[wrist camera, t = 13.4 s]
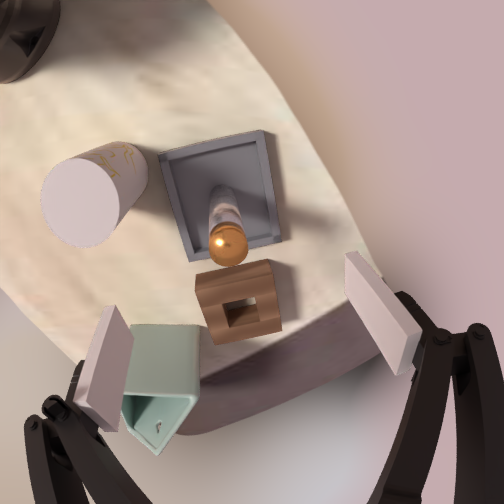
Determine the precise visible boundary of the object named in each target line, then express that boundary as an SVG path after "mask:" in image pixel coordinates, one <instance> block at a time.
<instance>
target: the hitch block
mask: <svg viewBox="0 0 504 504" xmlns="http://www.w3.org/2000/svg"><path fill="white" fill-rule="evenodd" d="M195 293H196V296H197V299H198V301H199V304H200V307H201V310H202V313H203V315H204V318H205V321H206V323H207V326H208V329H209V331H210V334H211V336H212V339H213V342H214V344H215V345H219V344H224V343H229V342H234V341H239V340H244V339H249V338H253V337H258V336H263V335H267V334H271V333H276V332H280V331H282V325H281V319H280V313H279V307H278V301H277V295H276V289H275V283H274V277H273V273H272V270H271V267H270V264H269V262H268V259H264V260H259V261H255V262H250V263H246V264H241V265H237V266H232V267H228V268H223V269H219V270H214V271H210V272H205V273H201V274H196V281H195ZM251 297H255V300H256V304H254V305H250V306H245V307H241V308H236V309H231V310H227V307H226V304H225V303H228V302H233V301H237V300H242V299H247V298H251Z"/></svg>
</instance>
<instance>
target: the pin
mask: <svg viewBox="0 0 504 504" xmlns="http://www.w3.org/2000/svg"><path fill="white" fill-rule="evenodd" d="M209 254H210V256H211V258H212V260H213V261H214V262H216V263H217V264H219V265H221V266H226V267H231V266H235V265H238V264H239V263H241V262H242V261H243V260H244V259H245V258H246V256H247V254H248V243H247V239H246V235H245V232H244V228H243V224H242V220H241V216H240V212H239V209H238V205H237V201H236V197H235V193H234V191H233V189H232V188H231V187H229V186H227V185H218V186H216V187H215V188H213V190H212V191H211V193H210V210H209Z"/></svg>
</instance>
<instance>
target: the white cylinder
mask: <svg viewBox="0 0 504 504" xmlns="http://www.w3.org/2000/svg"><path fill="white" fill-rule="evenodd" d="M148 174H149V173H148V165H147V162H146V160H145V158H144V156H143V154H142V153H141V152H140V151H139V150H138V149H137V148H136V147H134V146H133V145H131V144H129V143H125V142H111V143H108V144H105V145H103V146H100V147H97V148H95V149H92V150H89V151H87V152H84V153H82V154H79V155H77V156H74V157H72V158H69V159H67V160H65V161H63V162H61V163H59V164H57V165H56V166H55V167H54V168H53V169H52V170H51V171H50V172H49V173H48V175H47V177H46V178H45V180H44V183H43V186H42V190H41V209H42V213H43V216H44V219H45V221H46V223H47V225H48V227H49V228H50V230H51V231H52V232H53V233H54V234H55V235H56V236H57V237H58V238H59V239H60V240H61V241H63V242H65V243H66V244H68V245H71V246H74V247H78V248H89V247H94V246H97V245H99V244H101V243H102V242H104V241H105V240H106V239H107V238H108V237H109V236H110V235H111V234H112V232H113V231H114V230H115V228H116V227H117V225H118V224H119V223H120V221H121V220H122V219H123V217H124V216H125V215H126V213H127V212H128V211H129V210H130V208H131V207H132V206H133V204H134V203H135V202H136V201H137V199H138V198H139V197H140V196H141V194H142V193H143V191H144V190H145V188H146V185H147V182H148Z"/></svg>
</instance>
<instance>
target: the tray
mask: <svg viewBox="0 0 504 504" xmlns="http://www.w3.org/2000/svg"><path fill="white" fill-rule="evenodd" d="M158 158H159V162H160V166H161V170H162V173H163V177H164V181H165V184H166V188H167V191H168V195H169V198H170V202H171V205H172V209H173V212H174V216H175V219H176V222H177V226H178V229H179V232H180V235H181V239H182V242H183V245H184V248H185V251H186V254H187V258H188V261H189V262H193V261H197V260H202V259H206V258H211V256H210V254H209V210H210V193H211V191H212V190H213V188H215V187H216V186H218V185H227V186H229V187H231V188H232V189H233V191H234V193H235V197H236V201H237V205H238V209H239V212H240V216H241V220H242V224H243V228H244V232H245V235H246V239H247V243H248V249H251V248H256V247H260V246H265V245H269V244H274V243H278V242H282V241H281V234H280V227H279V221H278V214H277V208H276V202H275V196H274V190H273V183H272V177H271V172H270V166H269V160H268V154H267V148H266V143H265V137H264V132H263V130H256V131H251V132H245V133H240V134H235V135H230V136H225V137H221V138H216V139H212V140H207V141H203V142H199V143H195V144H191V145H187V146H183V147H179V148H175V149H172V150H168V151H164V152H161V153H159V154H158Z"/></svg>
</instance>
